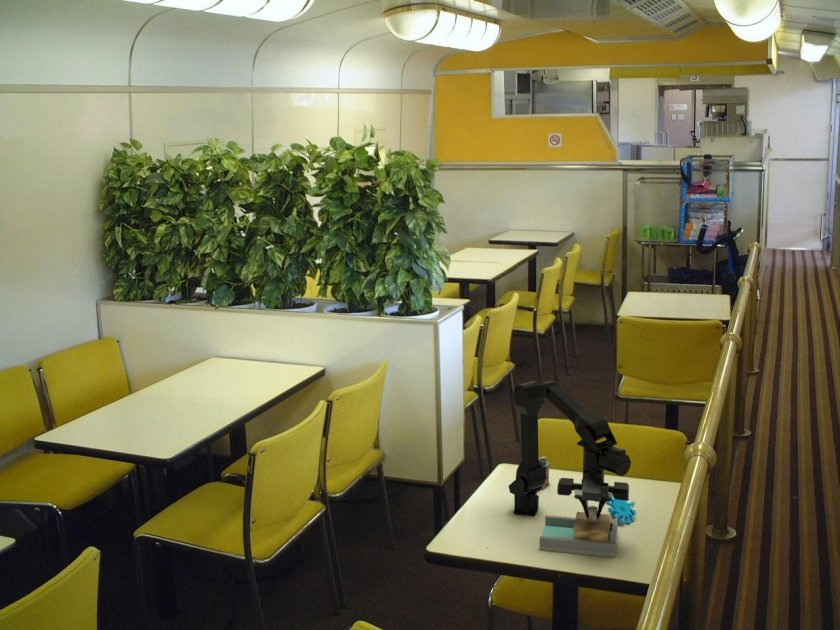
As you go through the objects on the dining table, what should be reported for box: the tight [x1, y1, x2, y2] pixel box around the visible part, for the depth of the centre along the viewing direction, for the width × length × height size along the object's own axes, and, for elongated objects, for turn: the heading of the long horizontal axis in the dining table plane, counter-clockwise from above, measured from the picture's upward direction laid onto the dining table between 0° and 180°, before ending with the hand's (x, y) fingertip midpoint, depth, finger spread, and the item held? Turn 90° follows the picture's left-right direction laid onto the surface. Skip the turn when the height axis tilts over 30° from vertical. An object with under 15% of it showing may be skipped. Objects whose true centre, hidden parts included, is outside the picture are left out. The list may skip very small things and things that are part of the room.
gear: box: [605, 494, 637, 525], centre depth 264 cm, size 11×6×10 cm
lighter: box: [537, 455, 551, 493], centre depth 284 cm, size 8×3×10 cm, turn 134°
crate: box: [573, 505, 612, 542], centre depth 249 cm, size 9×10×9 cm
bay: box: [539, 514, 619, 558], centre depth 250 cm, size 20×14×5 cm
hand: (592, 518), depth 248 cm, fingers closed on crate, 2 cm apart
